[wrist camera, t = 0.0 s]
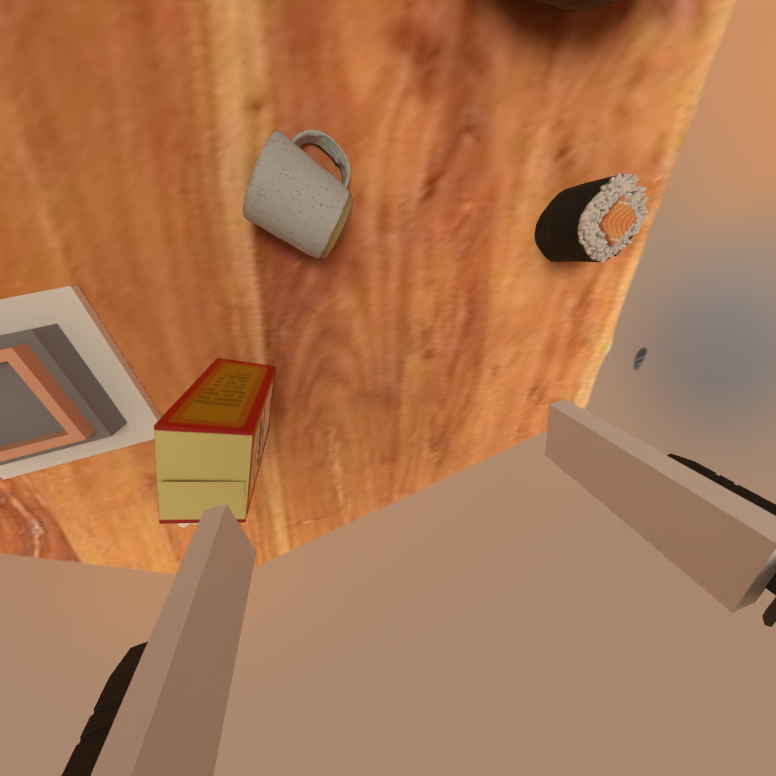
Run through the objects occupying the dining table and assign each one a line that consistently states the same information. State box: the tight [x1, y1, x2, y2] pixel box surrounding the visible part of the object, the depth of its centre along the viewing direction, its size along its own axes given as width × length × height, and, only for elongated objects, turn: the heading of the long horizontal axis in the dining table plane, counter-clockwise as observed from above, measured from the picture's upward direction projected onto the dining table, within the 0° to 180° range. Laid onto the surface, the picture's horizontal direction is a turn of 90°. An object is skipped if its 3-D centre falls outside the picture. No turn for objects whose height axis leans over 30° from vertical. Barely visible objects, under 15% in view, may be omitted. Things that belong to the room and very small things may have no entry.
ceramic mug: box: [243, 130, 353, 259], centre depth 27 cm, size 11×8×8 cm
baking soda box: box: [154, 358, 275, 524], centre depth 30 cm, size 10×6×16 cm
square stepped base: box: [0, 285, 162, 480], centre depth 29 cm, size 18×18×6 cm
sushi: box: [535, 172, 648, 263], centre depth 34 cm, size 8×8×8 cm
